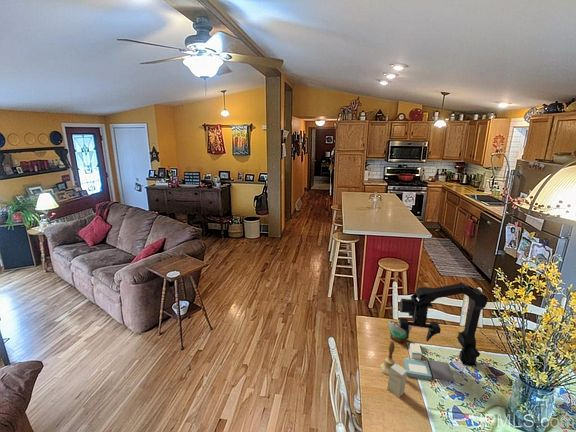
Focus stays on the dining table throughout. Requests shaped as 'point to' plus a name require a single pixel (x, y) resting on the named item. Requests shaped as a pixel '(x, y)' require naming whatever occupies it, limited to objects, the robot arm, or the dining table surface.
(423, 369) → the ticket book
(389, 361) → the hand bell
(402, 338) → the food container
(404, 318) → the robot arm
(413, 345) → the stub
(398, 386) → the skincare box
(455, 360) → the dining table surface
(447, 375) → the mat
